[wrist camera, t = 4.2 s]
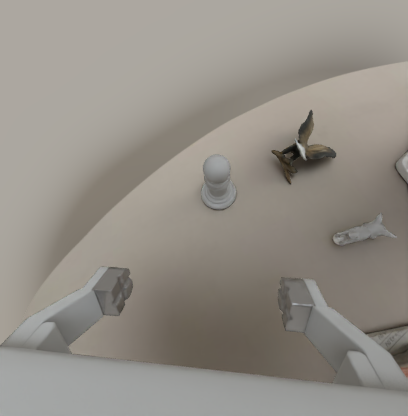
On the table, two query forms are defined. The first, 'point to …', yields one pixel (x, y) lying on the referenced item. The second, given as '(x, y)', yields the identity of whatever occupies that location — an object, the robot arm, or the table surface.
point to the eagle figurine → (303, 148)
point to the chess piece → (217, 183)
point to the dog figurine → (363, 232)
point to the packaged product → (394, 345)
